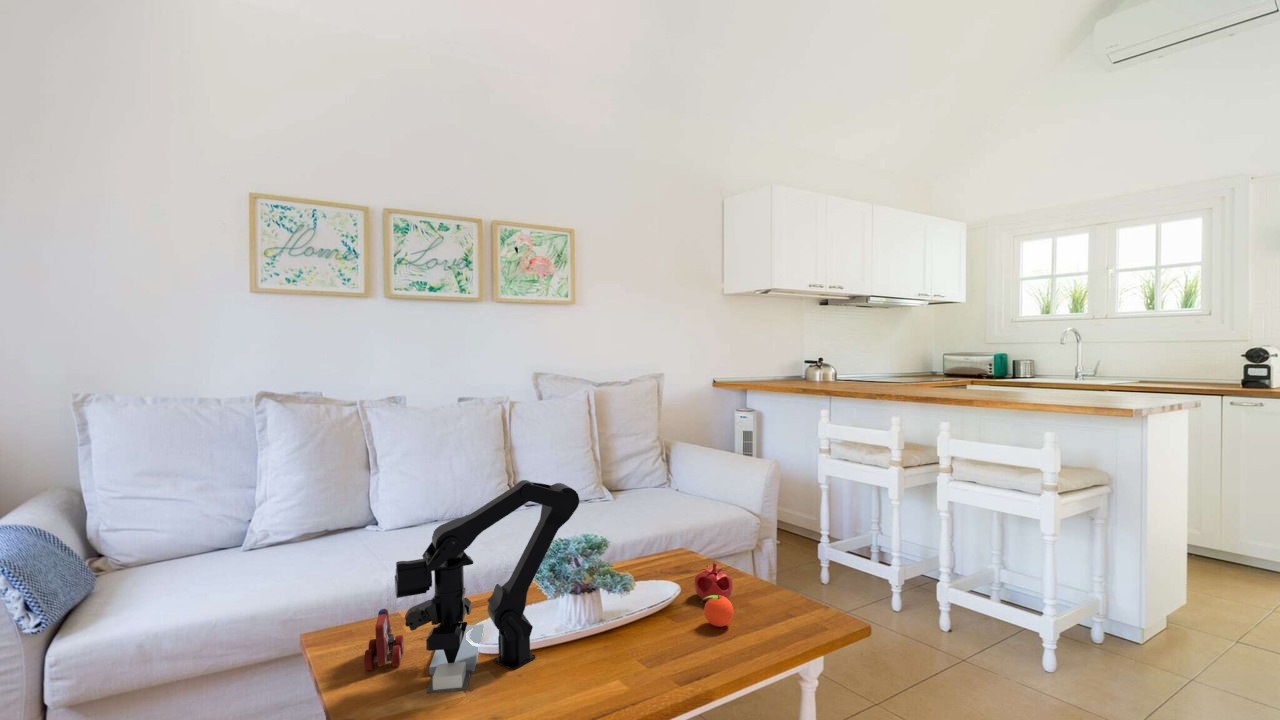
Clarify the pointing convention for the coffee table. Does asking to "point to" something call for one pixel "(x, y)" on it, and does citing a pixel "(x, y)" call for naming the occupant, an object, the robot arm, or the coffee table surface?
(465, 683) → the rubber mat
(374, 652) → the red toy vehicle
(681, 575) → the coffee table surface
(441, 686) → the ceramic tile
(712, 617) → the clementine
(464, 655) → the grey board
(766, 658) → the coffee table surface
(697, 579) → the pomegranate
